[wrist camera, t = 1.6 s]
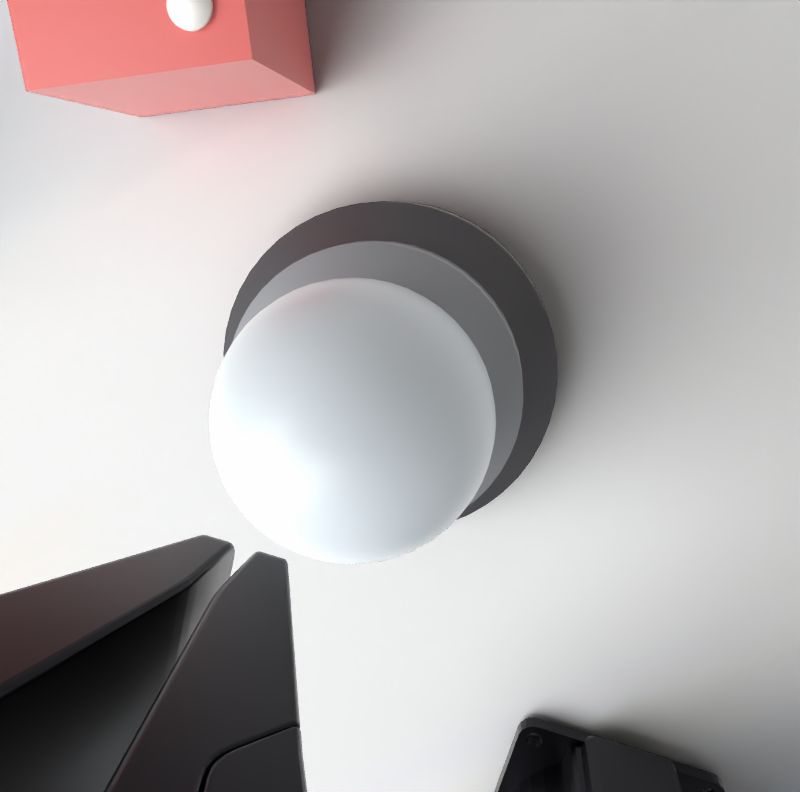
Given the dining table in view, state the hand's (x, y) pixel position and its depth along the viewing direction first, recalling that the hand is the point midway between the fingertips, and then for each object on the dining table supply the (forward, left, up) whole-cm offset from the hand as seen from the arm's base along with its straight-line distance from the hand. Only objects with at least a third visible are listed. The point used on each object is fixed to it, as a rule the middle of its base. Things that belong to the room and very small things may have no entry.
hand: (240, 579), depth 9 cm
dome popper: (0, 0, -10) cm, 10 cm away
